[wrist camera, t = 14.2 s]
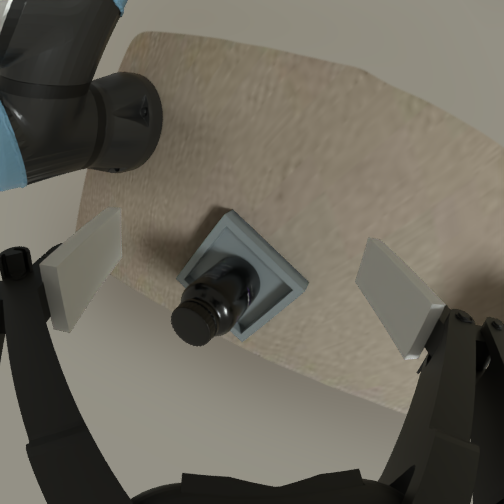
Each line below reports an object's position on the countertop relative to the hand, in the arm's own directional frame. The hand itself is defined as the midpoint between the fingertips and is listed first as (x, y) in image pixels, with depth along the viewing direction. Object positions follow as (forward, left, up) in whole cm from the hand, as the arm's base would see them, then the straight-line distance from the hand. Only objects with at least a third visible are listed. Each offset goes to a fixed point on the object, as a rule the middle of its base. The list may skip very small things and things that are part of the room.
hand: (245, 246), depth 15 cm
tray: (+1, -16, -20) cm, 26 cm away
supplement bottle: (+1, -16, -19) cm, 25 cm away
